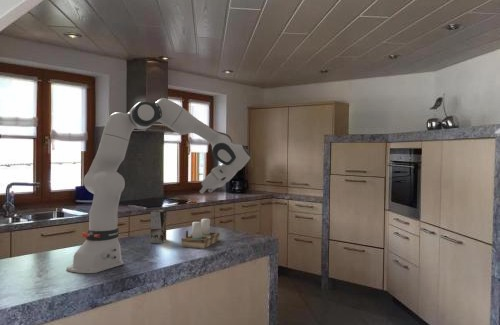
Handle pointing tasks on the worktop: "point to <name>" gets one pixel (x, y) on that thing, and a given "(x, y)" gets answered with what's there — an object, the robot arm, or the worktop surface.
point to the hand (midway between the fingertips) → (205, 192)
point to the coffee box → (158, 226)
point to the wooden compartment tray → (198, 243)
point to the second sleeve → (205, 226)
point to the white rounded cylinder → (196, 230)
